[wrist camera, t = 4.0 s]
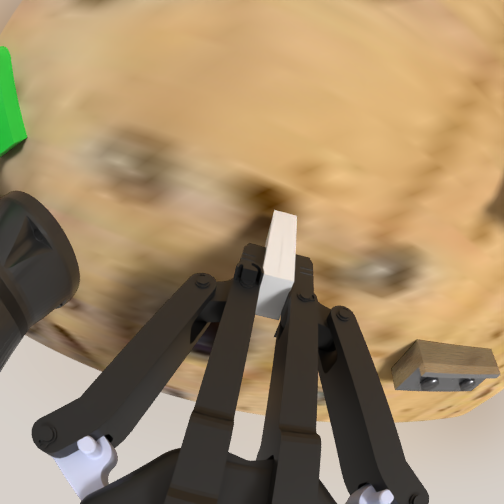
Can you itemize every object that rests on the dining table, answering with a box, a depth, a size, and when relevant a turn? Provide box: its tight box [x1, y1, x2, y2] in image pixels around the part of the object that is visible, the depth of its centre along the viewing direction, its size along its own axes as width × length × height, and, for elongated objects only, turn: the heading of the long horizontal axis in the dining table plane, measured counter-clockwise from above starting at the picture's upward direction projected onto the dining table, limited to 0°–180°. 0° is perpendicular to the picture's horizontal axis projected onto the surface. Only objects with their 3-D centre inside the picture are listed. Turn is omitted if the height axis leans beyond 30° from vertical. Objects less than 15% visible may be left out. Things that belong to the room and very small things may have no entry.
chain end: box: [391, 340, 500, 391], centre depth 25 cm, size 14×6×4 cm, turn 79°
